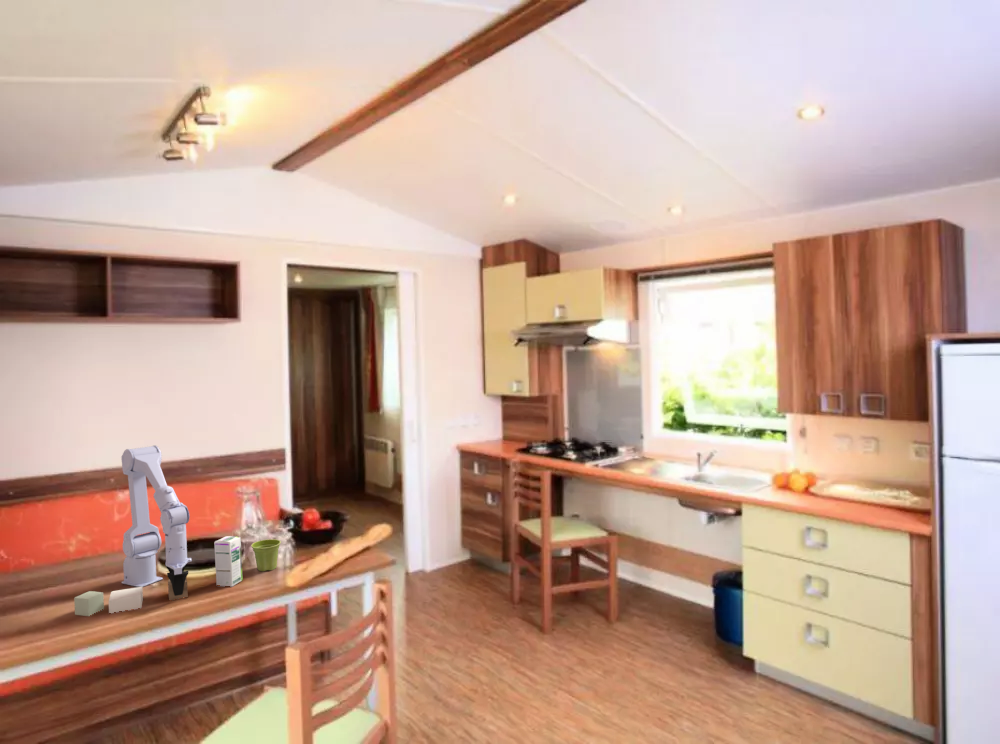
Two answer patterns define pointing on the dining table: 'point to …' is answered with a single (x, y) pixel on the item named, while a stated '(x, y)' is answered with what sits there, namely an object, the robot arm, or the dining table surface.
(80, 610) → the sage green block
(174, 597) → the walnut block
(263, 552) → the plant pot
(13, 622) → the dining table surface
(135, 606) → the base block
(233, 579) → the syrup box
